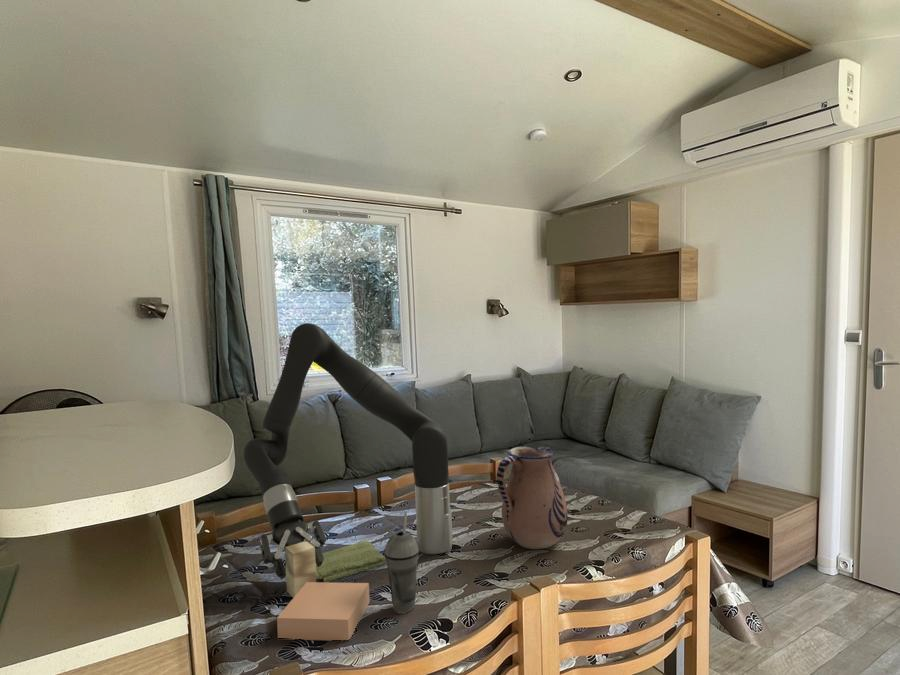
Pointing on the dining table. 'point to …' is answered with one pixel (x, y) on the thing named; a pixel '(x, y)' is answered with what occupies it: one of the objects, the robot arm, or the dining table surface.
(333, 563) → the washcloth
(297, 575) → the birch block
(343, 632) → the terracotta plinth
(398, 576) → the beverage cup
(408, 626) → the dining table surface
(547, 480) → the ceramic pitcher
